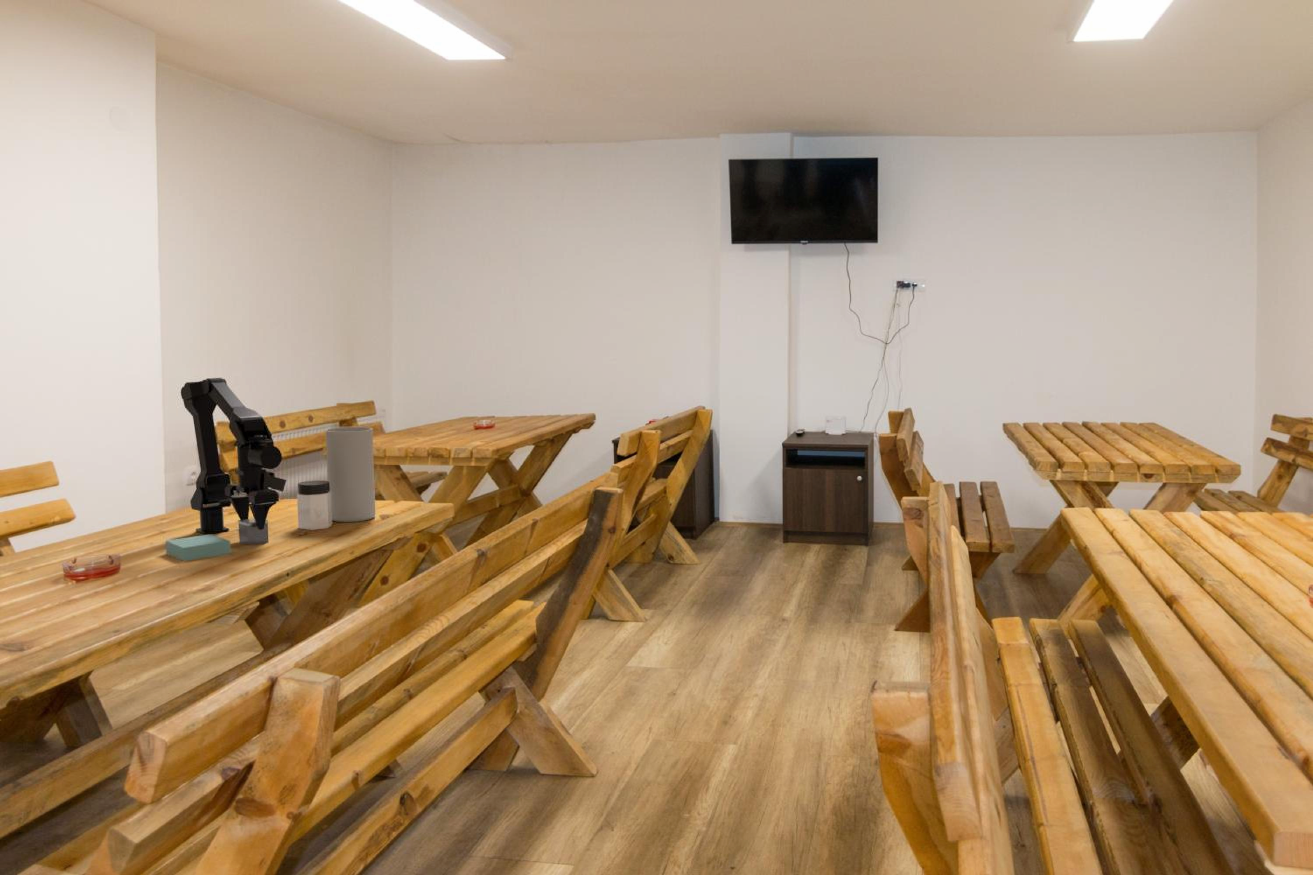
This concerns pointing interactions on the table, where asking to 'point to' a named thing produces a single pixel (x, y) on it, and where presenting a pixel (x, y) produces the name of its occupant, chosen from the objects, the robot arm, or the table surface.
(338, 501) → the cylinder vase
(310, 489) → the jar
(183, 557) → the teal box
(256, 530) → the tin
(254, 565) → the table surface
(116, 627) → the table surface
